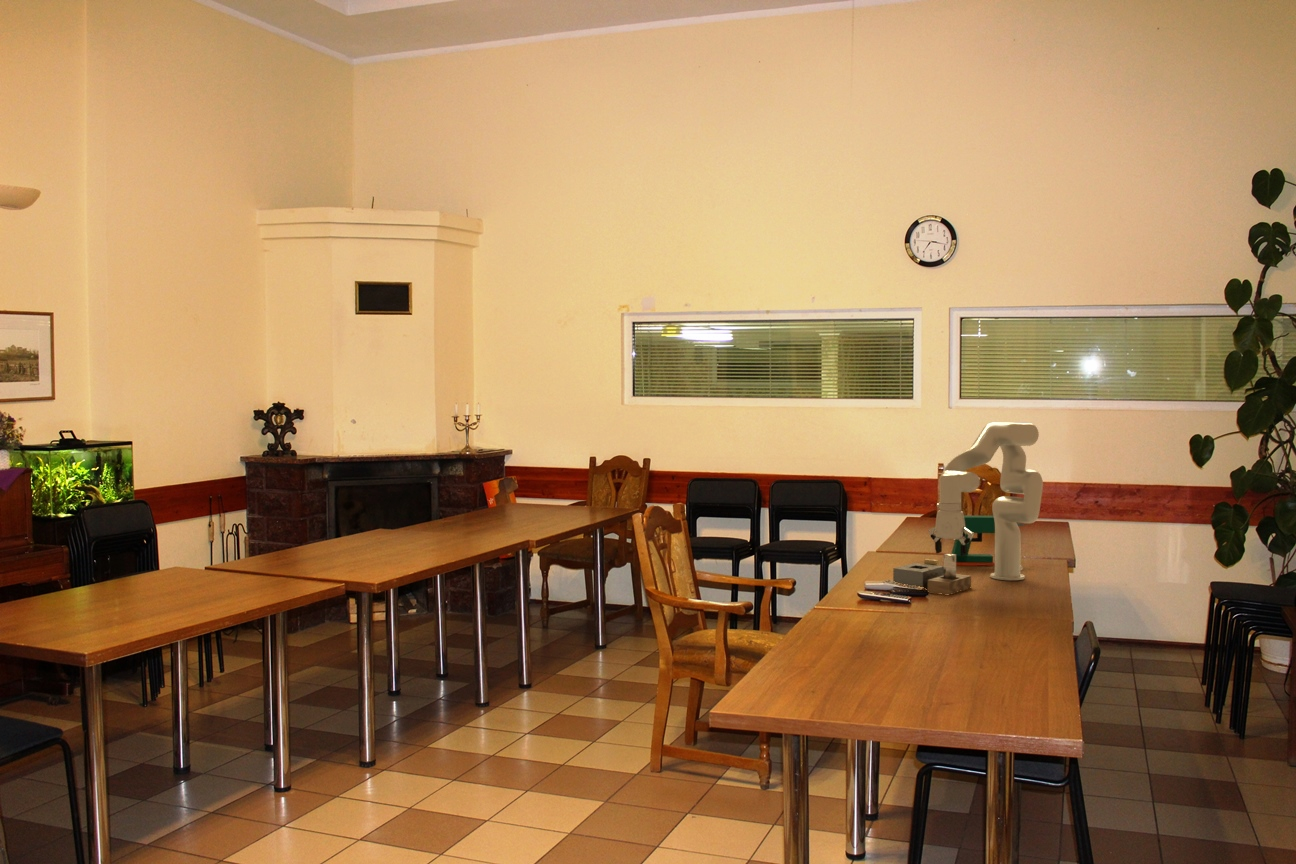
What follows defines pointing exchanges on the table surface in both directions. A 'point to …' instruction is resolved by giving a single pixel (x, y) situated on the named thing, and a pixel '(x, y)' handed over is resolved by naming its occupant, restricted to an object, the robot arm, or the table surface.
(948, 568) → the cream post
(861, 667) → the table surface
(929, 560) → the drift key
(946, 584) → the block
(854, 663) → the table surface
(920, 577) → the socket block
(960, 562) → the power tool
